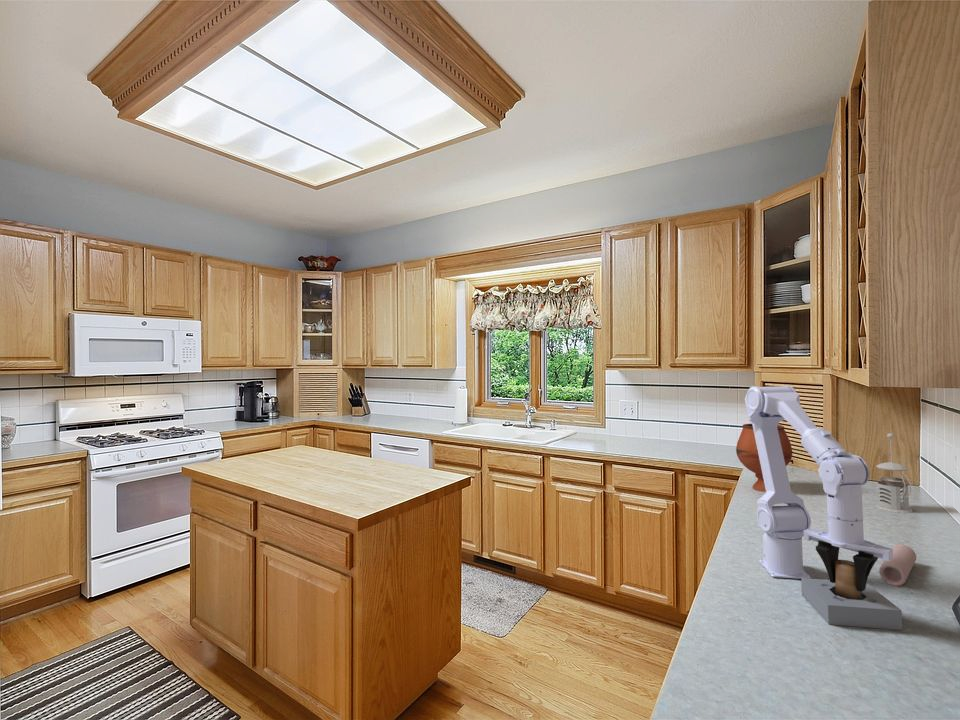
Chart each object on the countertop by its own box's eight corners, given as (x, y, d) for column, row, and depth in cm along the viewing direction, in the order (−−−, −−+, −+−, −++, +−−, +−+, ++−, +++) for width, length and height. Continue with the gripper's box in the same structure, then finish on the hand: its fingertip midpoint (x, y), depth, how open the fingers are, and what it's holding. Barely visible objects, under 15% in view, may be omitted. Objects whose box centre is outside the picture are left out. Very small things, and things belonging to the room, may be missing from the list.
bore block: (801, 594, 104) (801, 578, 104) (866, 599, 102) (865, 582, 102) (828, 624, 93) (827, 605, 93) (902, 630, 90) (901, 610, 90)
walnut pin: (832, 593, 99) (830, 558, 100) (854, 595, 99) (853, 560, 99) (841, 602, 96) (840, 566, 96) (865, 604, 95) (863, 568, 95)
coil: (890, 542, 122) (876, 563, 110) (915, 545, 118) (903, 567, 106) (893, 561, 121) (880, 584, 109) (918, 564, 118) (907, 589, 106)
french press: (898, 504, 166) (895, 431, 166) (925, 515, 154) (922, 435, 155) (867, 504, 167) (864, 431, 167) (892, 514, 155) (889, 436, 156)
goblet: (743, 494, 184) (741, 427, 184) (732, 482, 202) (730, 421, 202) (801, 496, 178) (799, 428, 178) (785, 484, 196) (783, 422, 197)
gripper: (795, 512, 101) (797, 577, 101) (881, 530, 89) (884, 605, 89) (811, 506, 105) (814, 569, 105) (896, 523, 93) (899, 595, 93)
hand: (847, 585), depth 97 cm, fingers closed on walnut pin, 4 cm apart
